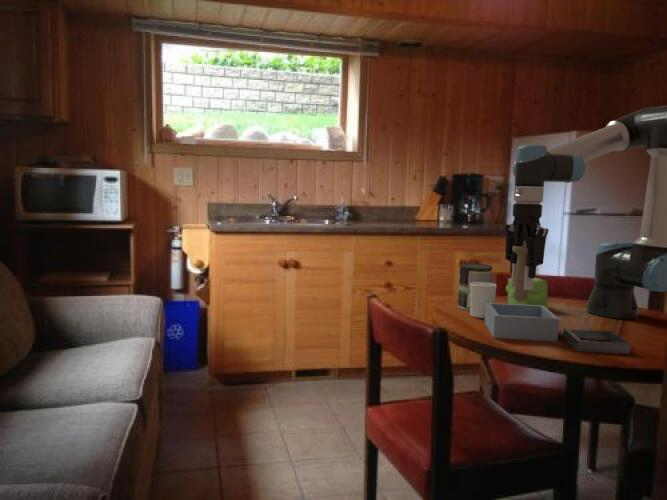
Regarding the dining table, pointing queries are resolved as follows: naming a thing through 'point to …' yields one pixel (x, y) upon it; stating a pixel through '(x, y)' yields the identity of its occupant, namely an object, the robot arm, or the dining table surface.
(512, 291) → the gearbox
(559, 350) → the dining table surface
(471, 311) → the white cup
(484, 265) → the coffee can
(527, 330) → the bin
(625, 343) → the flat grey tray
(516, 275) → the handle
